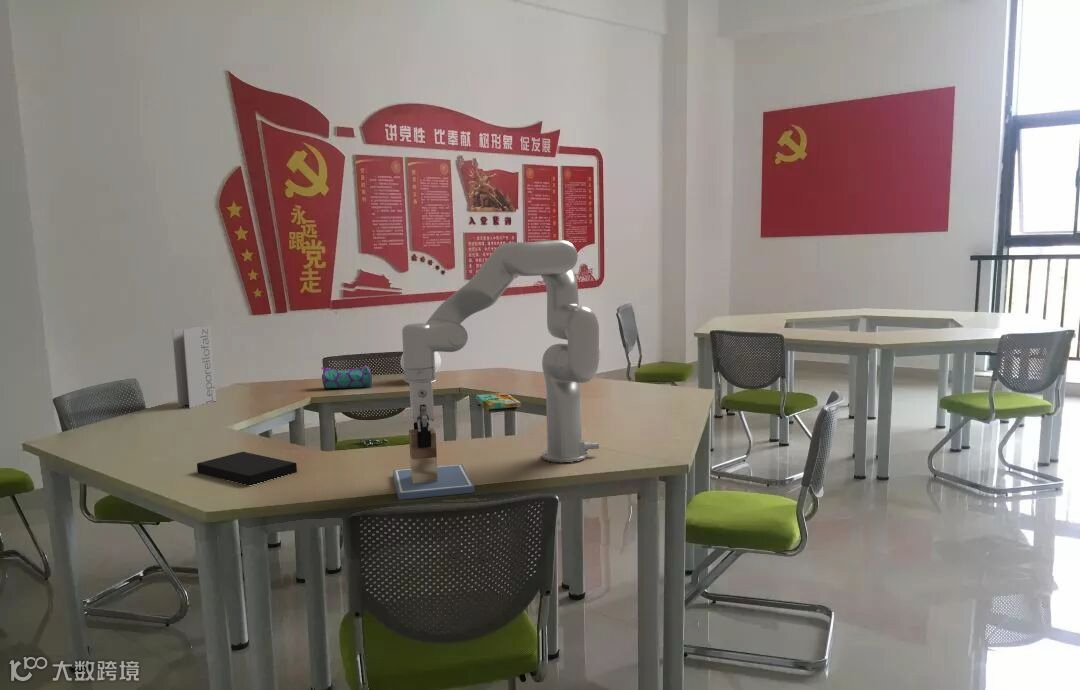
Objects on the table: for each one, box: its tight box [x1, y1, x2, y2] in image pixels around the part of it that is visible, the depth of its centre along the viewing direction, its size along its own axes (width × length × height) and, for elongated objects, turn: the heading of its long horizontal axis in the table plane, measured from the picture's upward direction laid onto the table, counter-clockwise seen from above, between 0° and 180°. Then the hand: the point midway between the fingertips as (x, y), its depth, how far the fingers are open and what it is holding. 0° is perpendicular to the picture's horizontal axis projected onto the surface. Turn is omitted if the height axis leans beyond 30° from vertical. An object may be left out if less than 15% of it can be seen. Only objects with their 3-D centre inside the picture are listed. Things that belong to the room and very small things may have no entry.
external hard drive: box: [196, 451, 298, 486], centre depth 206 cm, size 14×23×3 cm, turn 56°
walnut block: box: [408, 427, 438, 459], centre depth 191 cm, size 6×6×6 cm
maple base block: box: [409, 454, 438, 483], centre depth 191 cm, size 6×6×6 cm
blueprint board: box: [392, 463, 475, 501], centre depth 192 cm, size 18×20×2 cm
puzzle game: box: [475, 392, 522, 414], centre depth 282 cm, size 12×5×20 cm
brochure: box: [171, 325, 217, 409], centre depth 300 cm, size 14×6×30 cm, turn 161°
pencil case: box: [321, 365, 373, 390], centre depth 331 cm, size 21×9×10 cm, turn 102°
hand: (422, 442), depth 191 cm, fingers open, 9 cm apart
